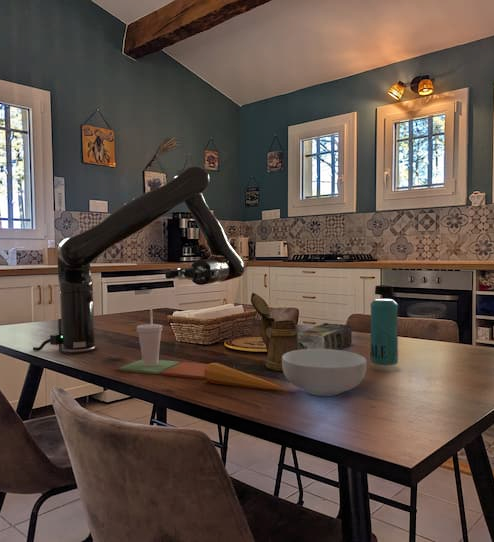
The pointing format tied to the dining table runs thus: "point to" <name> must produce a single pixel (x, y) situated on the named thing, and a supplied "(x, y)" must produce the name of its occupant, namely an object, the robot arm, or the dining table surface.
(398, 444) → the dining table surface
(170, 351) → the dining table surface
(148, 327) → the smoothie
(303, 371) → the cereal bowl
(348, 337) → the grey patterned box
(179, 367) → the terracotta mat
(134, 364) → the green mat
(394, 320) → the beverage bottle
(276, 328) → the wooden mug
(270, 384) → the carrot
